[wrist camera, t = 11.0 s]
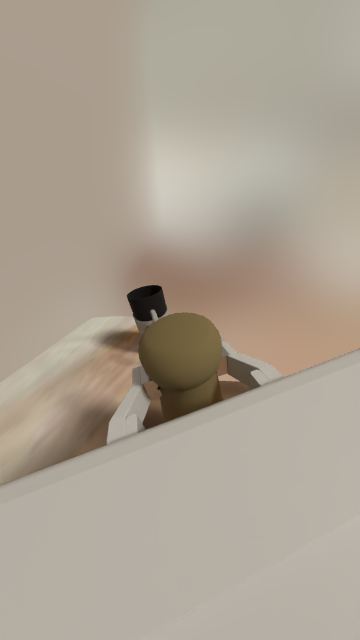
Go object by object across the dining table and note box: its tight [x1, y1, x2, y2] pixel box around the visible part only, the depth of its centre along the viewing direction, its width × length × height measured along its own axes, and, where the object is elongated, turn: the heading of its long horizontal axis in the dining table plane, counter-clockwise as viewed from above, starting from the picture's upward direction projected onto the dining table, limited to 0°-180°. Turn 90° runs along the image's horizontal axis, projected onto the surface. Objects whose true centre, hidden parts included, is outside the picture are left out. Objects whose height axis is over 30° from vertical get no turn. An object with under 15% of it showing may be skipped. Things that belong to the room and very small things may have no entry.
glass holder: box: [127, 285, 169, 337], centre depth 34 cm, size 9×14×15 cm, turn 20°
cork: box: [139, 313, 224, 423], centre depth 12 cm, size 6×6×11 cm
